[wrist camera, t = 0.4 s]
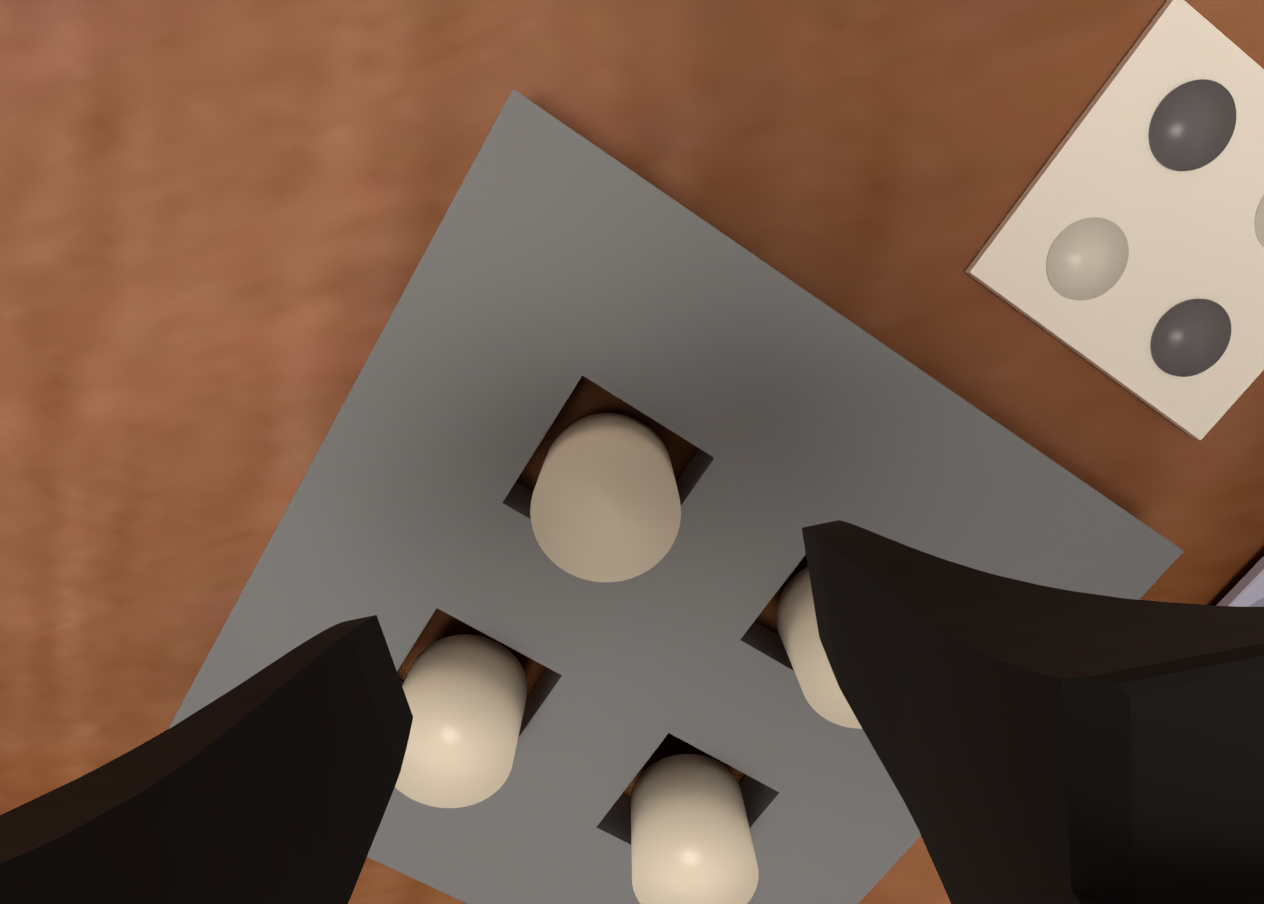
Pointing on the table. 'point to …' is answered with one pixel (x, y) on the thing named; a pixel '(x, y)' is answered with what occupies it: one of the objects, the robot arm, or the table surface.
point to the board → (703, 549)
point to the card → (1152, 226)
